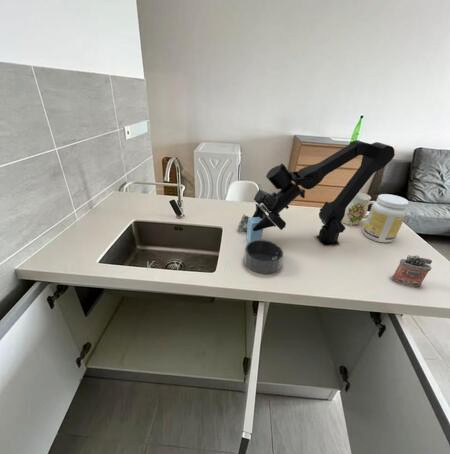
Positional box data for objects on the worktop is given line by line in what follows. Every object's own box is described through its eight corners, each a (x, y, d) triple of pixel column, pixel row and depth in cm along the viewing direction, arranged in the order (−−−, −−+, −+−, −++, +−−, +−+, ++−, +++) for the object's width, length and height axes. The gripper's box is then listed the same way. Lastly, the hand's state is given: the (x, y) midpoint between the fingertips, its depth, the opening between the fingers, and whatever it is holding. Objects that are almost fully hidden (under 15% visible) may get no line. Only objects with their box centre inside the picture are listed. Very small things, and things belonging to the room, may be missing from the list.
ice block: (256, 237, 95) (259, 216, 90) (260, 243, 91) (263, 222, 87) (246, 238, 94) (248, 217, 89) (249, 244, 90) (252, 223, 86)
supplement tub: (389, 231, 107) (405, 195, 98) (398, 246, 97) (417, 207, 88) (359, 227, 109) (372, 191, 101) (365, 240, 99) (380, 202, 90)
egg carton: (243, 221, 109) (243, 213, 107) (259, 224, 107) (260, 216, 105) (236, 232, 100) (236, 223, 98) (253, 236, 98) (254, 227, 96)
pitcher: (375, 229, 108) (388, 200, 101) (334, 225, 110) (343, 196, 102) (366, 218, 117) (377, 191, 110) (328, 214, 119) (336, 188, 112)
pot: (273, 253, 88) (276, 239, 85) (285, 275, 78) (288, 260, 75) (240, 255, 87) (242, 241, 84) (248, 277, 76) (250, 262, 73)
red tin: (392, 282, 78) (405, 257, 72) (390, 275, 80) (402, 251, 75) (421, 289, 75) (437, 263, 70) (418, 282, 78) (433, 257, 73)
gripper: (261, 174, 89) (231, 203, 93) (282, 192, 74) (245, 227, 77) (278, 193, 95) (248, 220, 99) (301, 214, 80) (265, 245, 83)
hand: (251, 227), depth 89 cm, fingers closed on ice block, 4 cm apart
